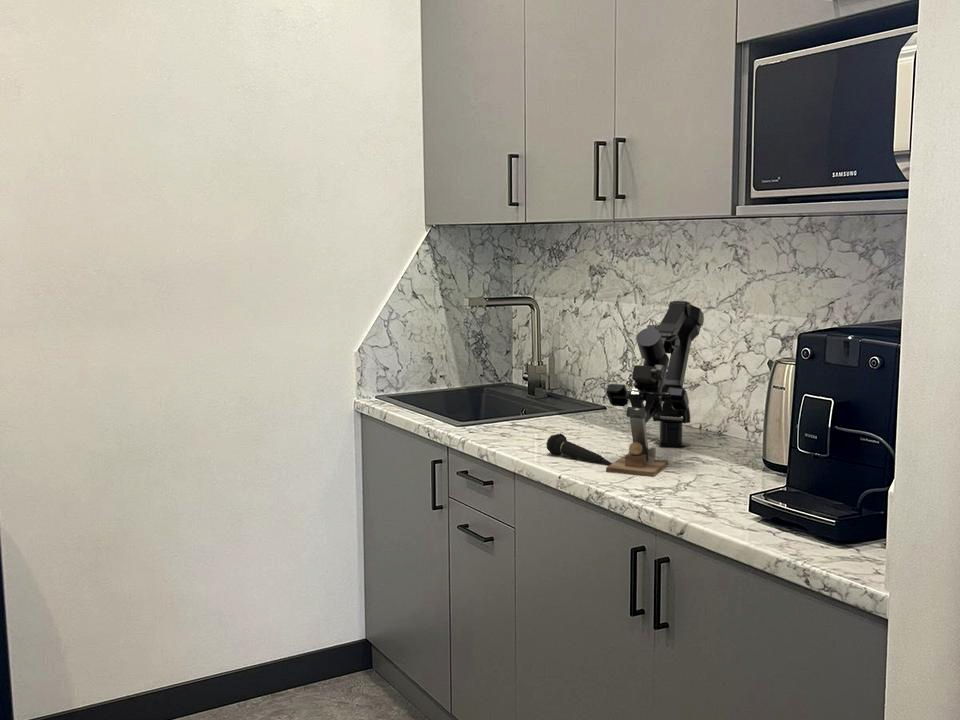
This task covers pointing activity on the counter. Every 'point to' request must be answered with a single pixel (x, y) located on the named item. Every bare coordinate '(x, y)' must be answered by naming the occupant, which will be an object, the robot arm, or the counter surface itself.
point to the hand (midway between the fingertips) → (639, 426)
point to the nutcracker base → (637, 471)
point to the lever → (639, 427)
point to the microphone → (573, 450)
